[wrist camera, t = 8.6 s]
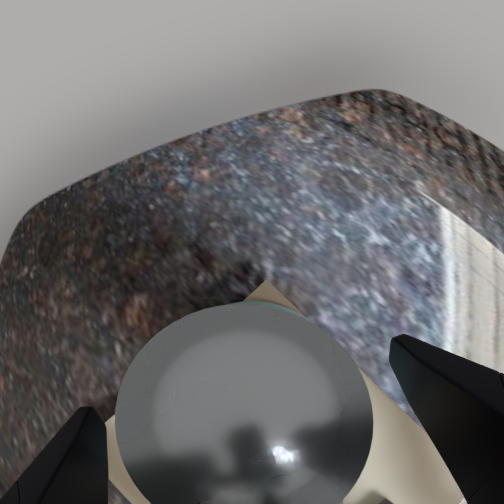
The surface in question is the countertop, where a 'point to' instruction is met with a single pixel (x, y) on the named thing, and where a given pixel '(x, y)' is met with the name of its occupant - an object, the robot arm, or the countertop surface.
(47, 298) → the countertop surface
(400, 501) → the board
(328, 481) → the axle
